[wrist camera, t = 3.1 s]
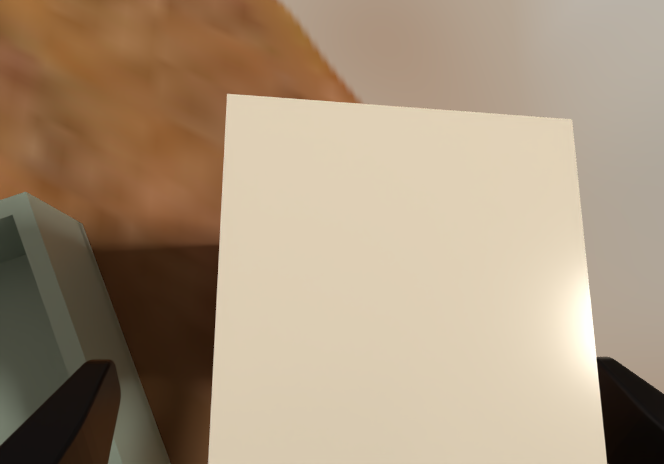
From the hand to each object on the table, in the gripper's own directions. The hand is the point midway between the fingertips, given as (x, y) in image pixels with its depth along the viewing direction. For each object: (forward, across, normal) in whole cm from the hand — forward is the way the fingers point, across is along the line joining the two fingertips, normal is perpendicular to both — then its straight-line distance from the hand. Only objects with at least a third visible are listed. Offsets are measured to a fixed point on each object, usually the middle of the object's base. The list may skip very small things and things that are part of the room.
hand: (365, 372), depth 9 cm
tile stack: (+7, 0, +5) cm, 9 cm away
